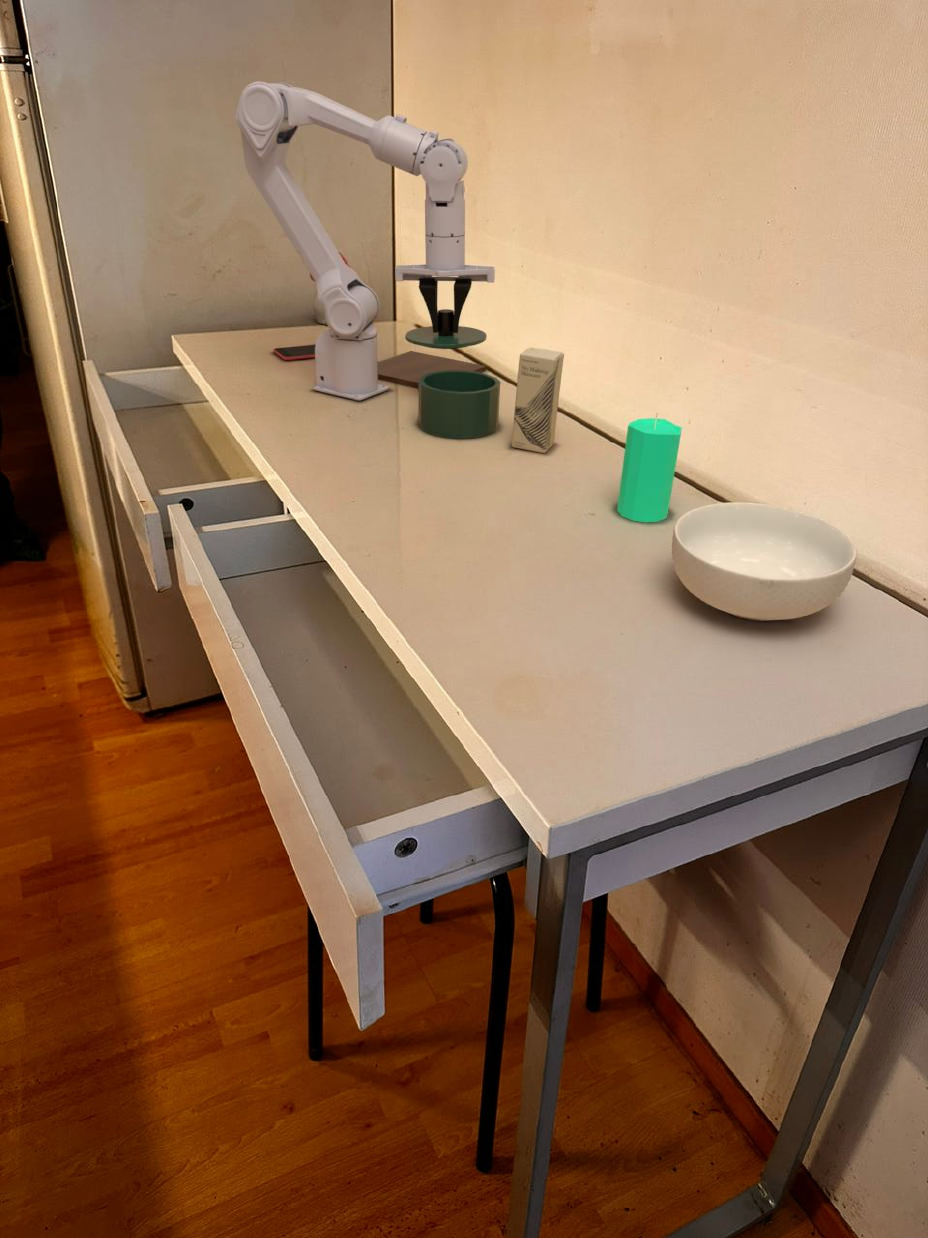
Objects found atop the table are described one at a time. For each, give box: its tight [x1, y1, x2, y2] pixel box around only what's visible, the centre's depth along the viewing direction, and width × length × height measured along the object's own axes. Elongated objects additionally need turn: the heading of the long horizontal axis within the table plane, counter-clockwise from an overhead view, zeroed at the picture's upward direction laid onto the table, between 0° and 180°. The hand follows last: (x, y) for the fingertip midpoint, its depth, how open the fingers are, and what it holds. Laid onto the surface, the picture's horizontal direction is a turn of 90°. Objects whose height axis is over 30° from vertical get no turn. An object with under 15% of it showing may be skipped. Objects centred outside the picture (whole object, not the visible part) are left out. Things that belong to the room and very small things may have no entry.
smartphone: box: [273, 343, 316, 361], centre depth 162 cm, size 7×1×14 cm
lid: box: [404, 308, 487, 350], centre depth 136 cm, size 12×12×5 cm
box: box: [511, 347, 565, 454], centre depth 121 cm, size 5×4×13 cm
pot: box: [417, 370, 501, 440], centre depth 129 cm, size 11×11×6 cm
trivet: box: [377, 350, 487, 389], centre depth 154 cm, size 16×16×1 cm
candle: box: [616, 412, 683, 523], centre depth 103 cm, size 6×6×12 cm
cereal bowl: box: [671, 501, 858, 622], centre depth 86 cm, size 17×17×7 cm
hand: (445, 331), depth 136 cm, fingers closed on lid, 2 cm apart
